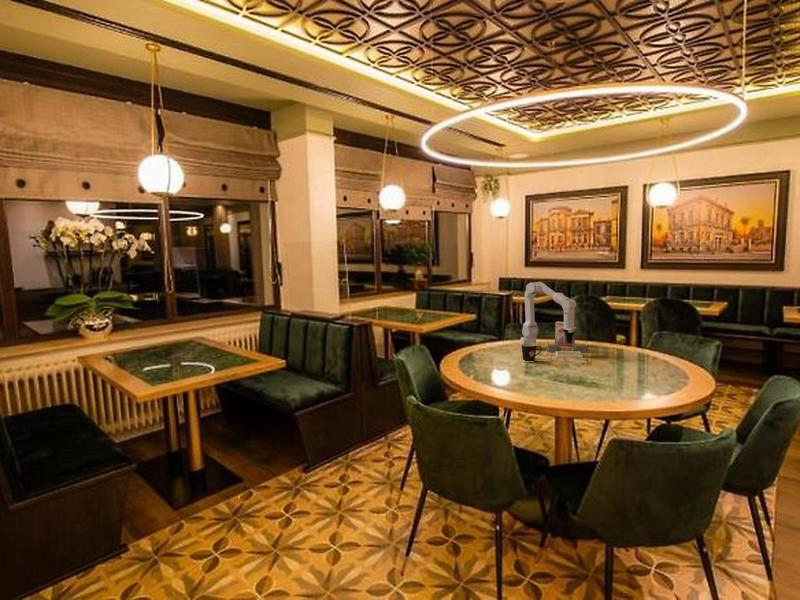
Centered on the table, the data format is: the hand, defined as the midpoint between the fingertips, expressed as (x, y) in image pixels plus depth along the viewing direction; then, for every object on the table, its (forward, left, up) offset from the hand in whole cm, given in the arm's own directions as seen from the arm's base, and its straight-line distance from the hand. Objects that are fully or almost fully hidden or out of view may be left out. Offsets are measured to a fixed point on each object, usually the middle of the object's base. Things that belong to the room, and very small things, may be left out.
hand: (568, 342), depth 276 cm
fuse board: (+3, +9, -9) cm, 13 cm away
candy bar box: (+10, +26, -9) cm, 29 cm away
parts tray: (0, 0, -9) cm, 9 cm away
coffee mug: (-25, -4, -9) cm, 27 cm away
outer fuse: (+11, +6, -8) cm, 15 cm away
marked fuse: (0, 0, -1) cm, 1 cm away
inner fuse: (-4, +12, -8) cm, 15 cm away
